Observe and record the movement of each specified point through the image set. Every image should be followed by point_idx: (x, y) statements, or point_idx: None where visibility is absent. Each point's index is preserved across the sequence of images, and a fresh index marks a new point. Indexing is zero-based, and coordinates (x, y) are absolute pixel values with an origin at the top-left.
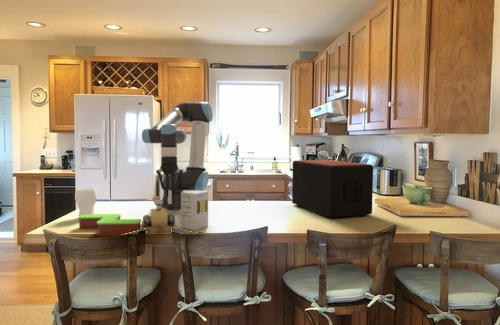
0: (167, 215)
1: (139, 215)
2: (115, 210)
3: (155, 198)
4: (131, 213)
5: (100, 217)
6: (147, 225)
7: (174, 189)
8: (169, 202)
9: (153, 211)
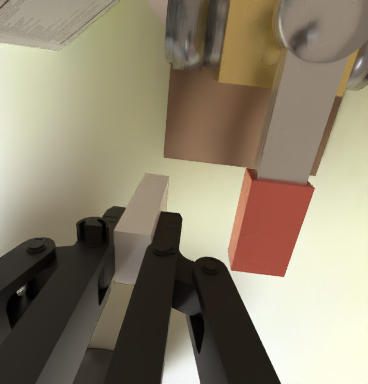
0: (219, 10)
1: (256, 322)
2: None
3: (297, 184)
4: (272, 359)
5: None
6: None
7: (70, 247)
8: (160, 178)
9: None
